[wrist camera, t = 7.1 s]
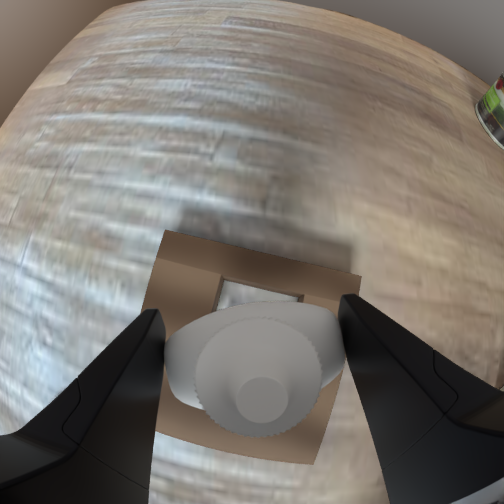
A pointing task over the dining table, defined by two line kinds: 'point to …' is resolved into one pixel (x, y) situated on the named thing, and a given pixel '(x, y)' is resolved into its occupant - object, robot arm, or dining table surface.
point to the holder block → (205, 302)
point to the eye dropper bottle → (256, 364)
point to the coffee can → (493, 111)
